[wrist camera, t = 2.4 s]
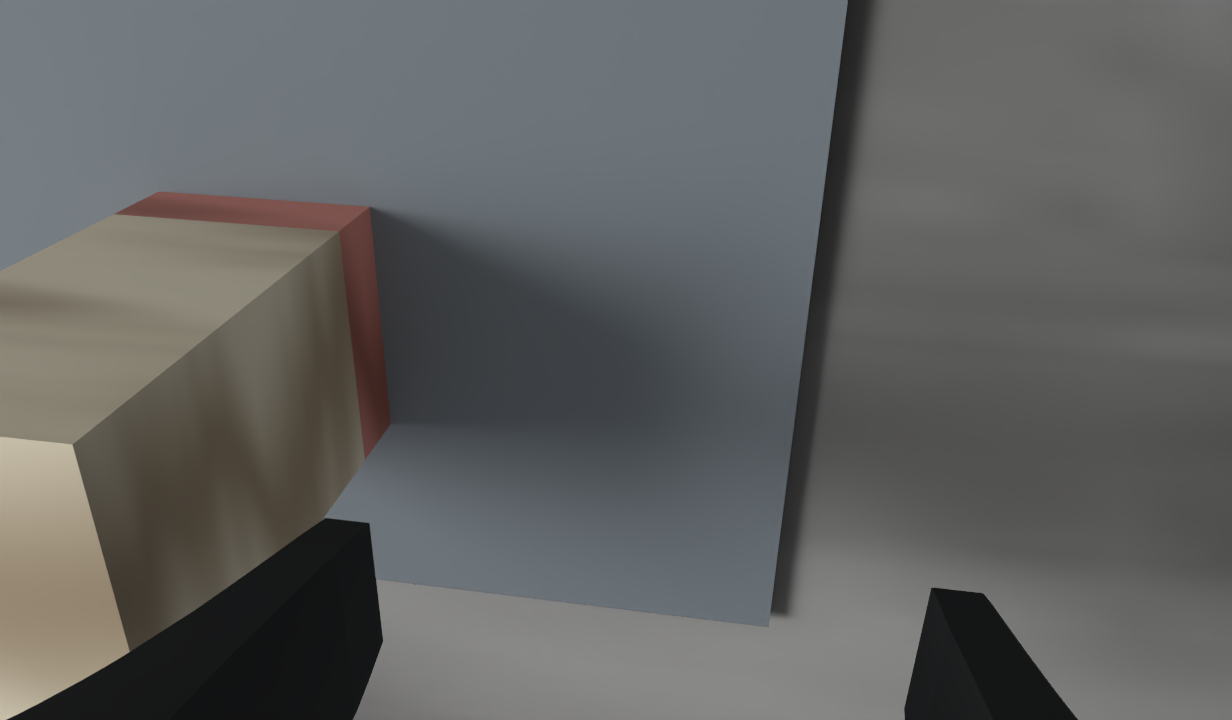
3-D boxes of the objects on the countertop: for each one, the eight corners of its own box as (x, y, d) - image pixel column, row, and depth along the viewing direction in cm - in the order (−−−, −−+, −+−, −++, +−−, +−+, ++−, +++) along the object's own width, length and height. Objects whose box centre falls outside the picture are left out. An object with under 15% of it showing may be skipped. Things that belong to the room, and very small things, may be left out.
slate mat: (768, 612, 22) (768, 627, 22) (-135, 503, 25) (-151, 514, 25) (865, -156, 15) (867, -157, 15) (-415, -184, 18) (-445, -186, 18)
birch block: (390, 423, 21) (157, 751, 13) (201, 404, 22) (-133, 708, 14) (369, 206, 19) (71, 444, 11) (158, 191, 19) (-272, 406, 11)
